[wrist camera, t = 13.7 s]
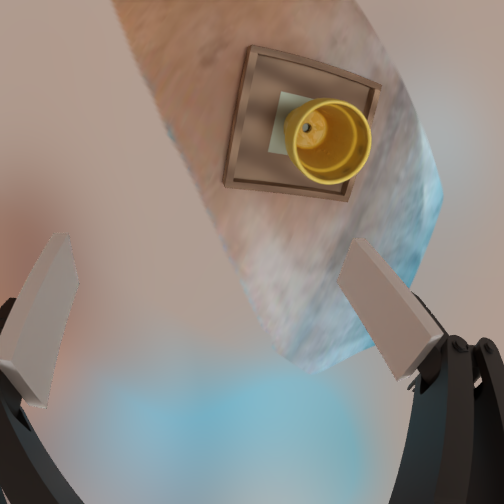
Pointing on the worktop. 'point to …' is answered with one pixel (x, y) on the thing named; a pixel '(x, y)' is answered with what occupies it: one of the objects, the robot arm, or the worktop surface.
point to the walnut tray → (273, 117)
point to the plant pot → (327, 140)
